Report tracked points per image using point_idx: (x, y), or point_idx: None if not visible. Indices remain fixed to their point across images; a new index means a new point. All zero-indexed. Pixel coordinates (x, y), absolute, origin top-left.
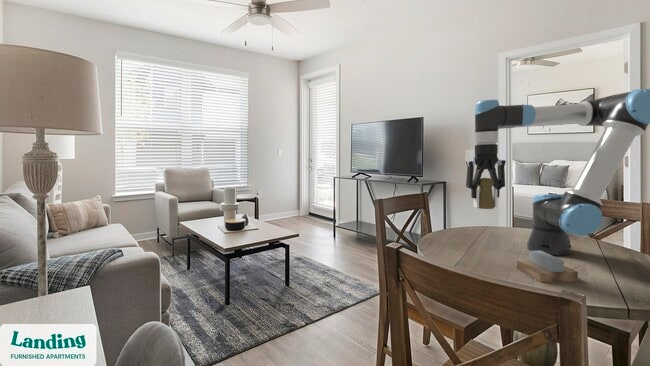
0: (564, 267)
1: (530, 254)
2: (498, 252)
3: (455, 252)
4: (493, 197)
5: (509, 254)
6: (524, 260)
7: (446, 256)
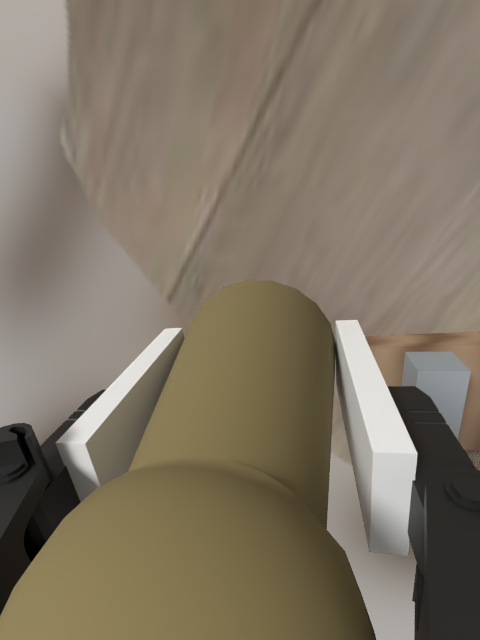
0: (475, 417)
1: (413, 370)
2: (405, 132)
3: (204, 138)
4: (349, 413)
5: (438, 166)
6: (388, 349)
7: (157, 199)
